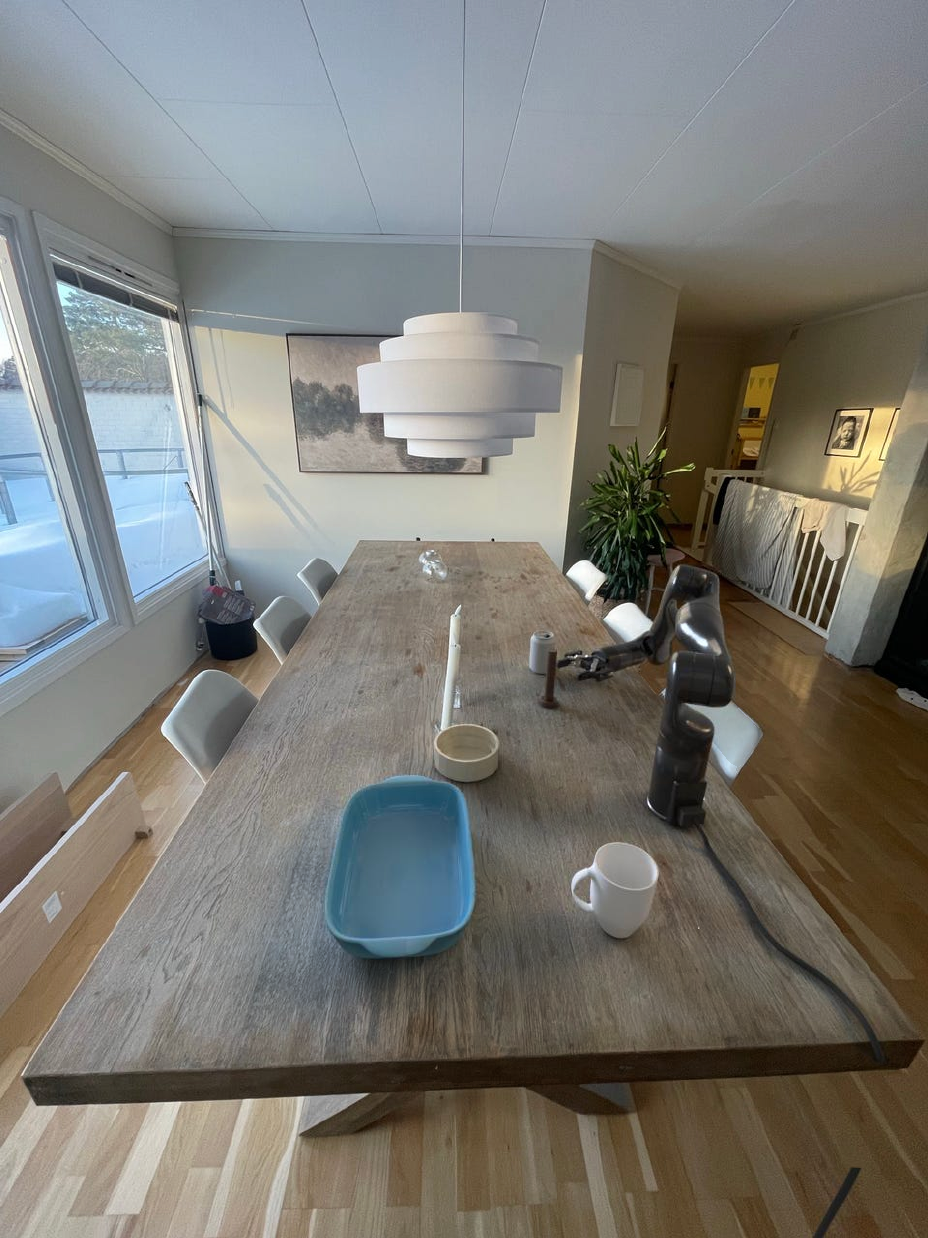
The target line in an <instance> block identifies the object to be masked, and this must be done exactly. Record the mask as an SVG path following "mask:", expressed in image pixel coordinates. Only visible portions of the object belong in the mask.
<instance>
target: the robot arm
mask: <svg viewBox="0 0 928 1238" xmlns="http://www.w3.org/2000/svg"><path fill="white" fill-rule="evenodd" d="M677 602H679V603H682V604H683V605H681V606H680V608H679V609H678V606H677ZM724 626H725V625H724V621H723V616H722V612H721V607H720V578H719V575H717V574H716V572H713V571H712V570H709V569H708V570H707V569H705V568H701V567H699V566H698V567H697V566H693V565H691V564H685V563H680V564H678V565H677V566H676V567H674V569H673V571H672V572H671V575H670V576H669V578H668V581H667V583H666V586H665V590H664V592H663V595H662V597H661V601H660V604H659V608H658V611H657V614H656V616H655V617H654V620H653V622H652V624H651V626H650V628H649V629H648V630H645V631H644V632H642V633H641V634H640V635H639V636H637V637H636V638H633V639H632V640H630V641H627V642H622V643H616V644H612V645H607V646H603V647H599V648H596V649H594V650H593V651H592V652H591V653H590V654H583V653H584V651H583V650H575V651H570V652H565V653H564V655H563V657H564V658H561V659H558V660H557V661H556V669H563V668H565V667H566V668H567V667H574V668H576V669H583V671H580V672H577V674H576V681H578V682H582V681H587V680H595V682H597V683H599V682H600V683H601V682H603V681H606V680H609V679H613V677H614V673H617V672H620V671H623V670H626V669H628V668H631V667H634V666H639V665H641V664H642V663H644V662H645V660H647V661H648V662H649V664H650V665H652V666H662V665H665V664H666V663H667V662H668V661H669V663H668V666H667V671H666V672H667V673H666V674H667V675H666V683H665V693H664V702H663V707H662V713H661V719H660V724H659V730H658V735H657V740H656V746H655V753H654V759H653V765H652V770H651V776H650V782H649V788H648V794H647V797H646V805H647V808H648V810H649V811H650V812H651V813H652V814H653V815H654V816H656V817H658V818H659V819H660V820H663V821H664V822H666V823H667V824H668V826H675V825H680V827H681V828H683V827H684V828H685V827H692V826H695V828H696V831H697V832H698V833H699V834H700V837H701V840H702V842H703V844H704V848H705V849H706V852H707V853H708V855H709V856H710V858H711V859H712V861H713V863H714V864H715V865H716V867H717V868H718V869H719V870H720V872H721V873H722V874H723V875H724V876H725V878H726V879H727V881H728V882H729V884H731V885H732V887H733V888H734V890H735V891H736V893H737V894H738V896H739V897H740V899H741V901H742V903H743V904H744V907H745V908H746V910H747V912H748V915H749V917H750V918H751V919H752V922H753V923H754V924H755V926H756V927H757V929H758V930H759V931H760V933H761V934H762V935H763V937H764V938H765V939H766V940H767V941H768V942H769V943H770V944H771V945H772V946H773V947H774V948H775V949H776V950H778V952H780V953H781V954H782V955H783V956H785V957H786V958H788V959H789V960H790V961H792V962H793V963H795V964H796V965H798V966H800V967H801V968H803V969H804V970H806V971H807V972H808V973H810V974H811V975H813V976H814V977H815V978H817V979H818V980H820V981H821V982H822V983H823V984H825V986H827V987H828V988H829V989H830V990H832V992H833V993H834V994H835V995H837V997H838V998H839V999H840V1000H841V1001H842V1002H843V1003H844V1004H845V1005H846V1006H847V1008H848V1009H850V1011H851V1012H852V1013H853V1014H854V1016H855V1017H856V1018H857V1019H858V1021H859V1022H860V1024H861V1026H862V1027H863V1029H864V1032H865V1034H866V1035H867V1037H868V1040H869V1041H870V1044H871V1047H872V1049H873V1052H874V1053H875V1054H874V1055H875V1057H876V1059H877V1061H878V1062H880V1063H882V1064H885V1063H886V1059H885V1058H886V1057H885V1055H884V1052H883V1049H882V1047H881V1044H880V1041H879V1039H878V1037H877V1035H876V1033H875V1031H874V1029H873V1027H872V1026H871V1024H870V1023H869V1021H868V1020H867V1018H866V1016H865V1015H864V1014H863V1012H862V1011H861V1009H859V1008H858V1007H857V1005H856V1004H855V1003H854V1002H853V1001H852V1000H851V999H850V998H849V997H848V996H847V995H846V993H844V991H843V990H841V988H840V987H838V985H837V984H836V983H834V982H833V981H832V980H831V979H830V978H829V977H827V975H825V974H824V973H822V972H821V971H819V970H818V969H817V968H815V967H813V966H812V965H810V964H809V963H808V962H806V961H804V960H803V959H801V958H800V957H799V956H797V955H795V954H794V953H792V952H791V951H790V950H788V949H787V948H785V947H784V946H783V945H782V944H781V943H779V942H778V941H777V940H776V938H774V936H772V934H771V933H770V932H769V931H768V930H767V929H766V927H765V926H764V924H762V922H761V921H760V919H759V917H758V916H757V914H756V912H755V910H754V908H753V907H752V905H751V903H750V901H749V899H748V897H747V896H746V894H745V892H744V891H743V889H742V888H741V886H740V885H739V883H738V882H737V881H736V879H734V876H733V875H731V874H730V872H729V871H728V870H727V869H726V868H725V866H724V865H723V863H721V861H720V860H719V858H718V857H717V856H716V854H715V852H714V851H713V849H712V846H711V845H710V841H709V839H708V836H707V835H706V832H705V831H704V829H703V827H702V826H701V825H704V824H705V819H706V815H707V811H706V810H705V809H704V808H703V804H704V801H705V795H706V790H707V786H708V781H707V780H706V774H707V769H708V764H709V760H710V755H711V752H712V751H711V750H712V746H713V741H714V737H715V732H716V731H715V730H716V729H715V725H714V723H713V721H712V720H711V719H710V718H709V717H708V716H706V715H705V714H704V713H702V712H700V711H698V710H696V709H694V708H693V707H691V706H689V705H693V706H699V707H705V708H713V709H716V708H717V709H720V708H725V707H727V706H729V704H730V703H731V702H732V701H733V699H734V696H735V692H736V672H735V668H734V667H735V666H734V663H733V661H732V657H731V654H730V652H729V649H728V647H727V644H726V637H725V627H724ZM675 639H677V641H678V644H680V646H681V647H682V649H684V650H676V651H675V652H674V653H673V650H674V644H675ZM579 661H580V663H579ZM861 1170H862V1167H857V1166H856V1167H853V1166H850V1169H849V1171H848V1172H847V1175H846V1176H845V1178H844V1180H843V1182H842V1184H841V1185H840V1187H839V1189H838V1191H837V1193H836V1194H835V1197H834V1198H833V1200H832V1202H831V1204H830V1205H829V1207H828V1209H827V1210H826V1212H825V1214H824V1216H823V1218H822V1220H821V1221H820V1223H819V1225H818V1227H817V1229H816V1231H815V1232H814V1234H813V1237H812V1238H824V1237H825V1235H826V1233H827V1231H828V1230H829V1228H830V1227H831V1225H832V1223H833V1221H834V1219H835V1218H836V1216H837V1215H838V1212H839V1210H840V1209H841V1207H842V1205H843V1204H844V1203H845V1200H846V1199H847V1197H848V1196H849V1194H850V1191H851V1190H852V1188H853V1186H854V1184H855V1182H856V1181H857V1178H858V1177H859V1175H860V1173H861Z"/></svg>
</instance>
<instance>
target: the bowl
mask: <svg viewBox="0 0 928 1238" xmlns="http://www.w3.org/2000/svg"><path fill="white" fill-rule="evenodd" d="M499 760H500V741H499V738H498V736H497V735H496V734H495V732H494V731H492V730H491V729H489V728H487V727H485V726H482V725H478V724H473V723H471V724H470V723H461V724H454V725H450V726H447V727H446V728H444V729H441V730H440V731H439V732H438V733H437V734H436V736H435V739H434V740H433V762H434V767H435V769H436V770H437V772H438V773H439V774H441V775H442V776H443V777H445V778H447V779H450V780H453V781H456V782H465V783H470V782H471V783H472V782H478V781H481V780H484V779H487V778H489V777H490V776H491V775H493V774H494V773H495V771H496V770H497V769H498V767H499V762H500V761H499Z"/></svg>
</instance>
